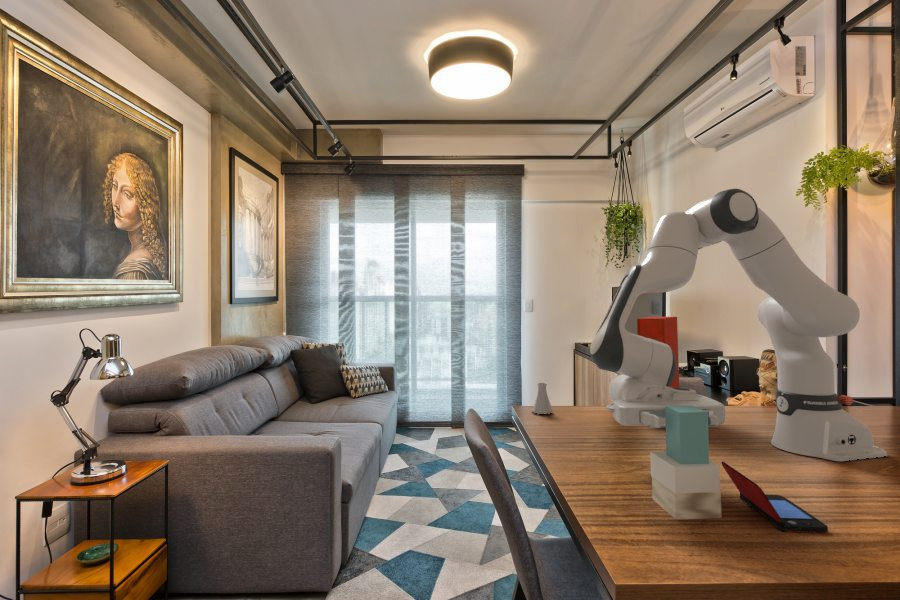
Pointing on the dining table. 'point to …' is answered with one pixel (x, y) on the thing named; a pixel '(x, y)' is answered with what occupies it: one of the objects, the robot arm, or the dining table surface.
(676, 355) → the file binder
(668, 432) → the teal pillar
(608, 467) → the dining table surface
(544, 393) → the flask
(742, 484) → the handheld game console
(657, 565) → the dining table surface
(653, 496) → the tower base
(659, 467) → the tower top
